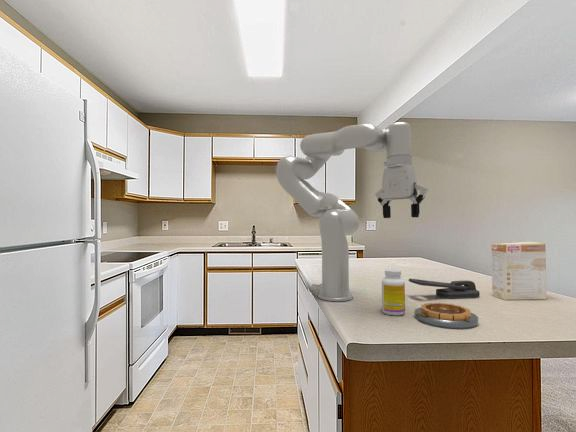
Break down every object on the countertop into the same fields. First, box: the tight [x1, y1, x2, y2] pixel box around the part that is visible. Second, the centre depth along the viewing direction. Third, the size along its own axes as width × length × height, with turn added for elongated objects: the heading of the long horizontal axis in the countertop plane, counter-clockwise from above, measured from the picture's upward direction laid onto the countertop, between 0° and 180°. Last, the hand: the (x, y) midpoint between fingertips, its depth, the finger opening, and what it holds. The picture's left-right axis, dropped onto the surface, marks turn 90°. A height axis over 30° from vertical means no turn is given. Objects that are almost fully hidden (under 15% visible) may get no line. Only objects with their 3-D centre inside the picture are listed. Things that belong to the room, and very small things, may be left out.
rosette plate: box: [414, 302, 479, 330], centre depth 91 cm, size 16×16×3 cm
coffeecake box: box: [491, 241, 547, 301], centre depth 115 cm, size 15×7×20 cm, turn 91°
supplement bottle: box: [381, 268, 406, 317], centre depth 97 cm, size 7×7×13 cm
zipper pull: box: [408, 278, 480, 300], centre depth 117 cm, size 9×7×25 cm
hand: (400, 217), depth 102 cm, fingers open, 9 cm apart
